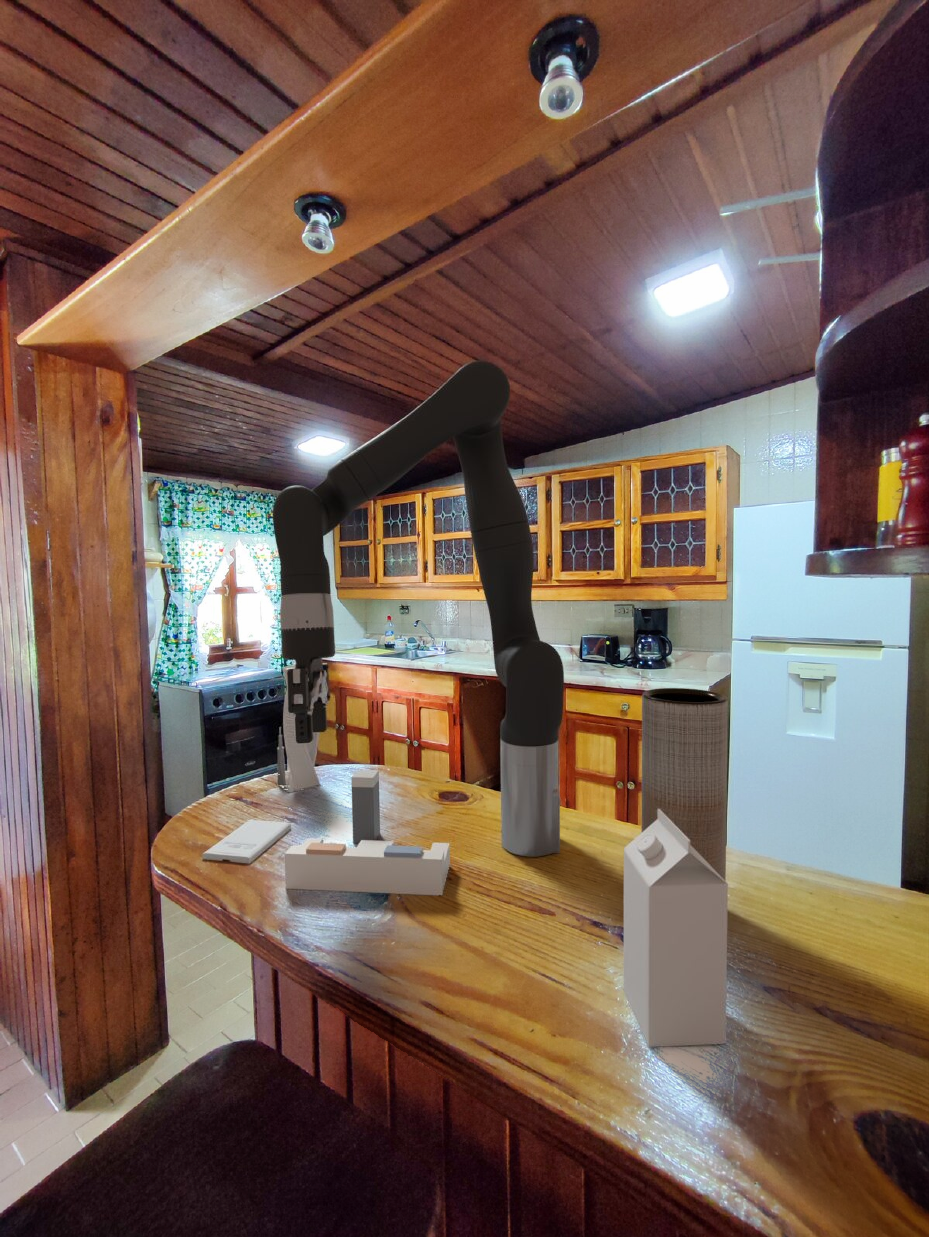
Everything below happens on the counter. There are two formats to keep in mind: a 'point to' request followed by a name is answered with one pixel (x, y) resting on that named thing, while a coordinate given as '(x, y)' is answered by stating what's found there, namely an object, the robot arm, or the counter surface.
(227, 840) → the external hard drive
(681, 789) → the vase
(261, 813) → the counter surface
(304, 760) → the skyscraper
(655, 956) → the milk carton
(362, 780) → the grey tall block
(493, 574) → the robot arm
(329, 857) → the socket strip
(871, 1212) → the counter surface
